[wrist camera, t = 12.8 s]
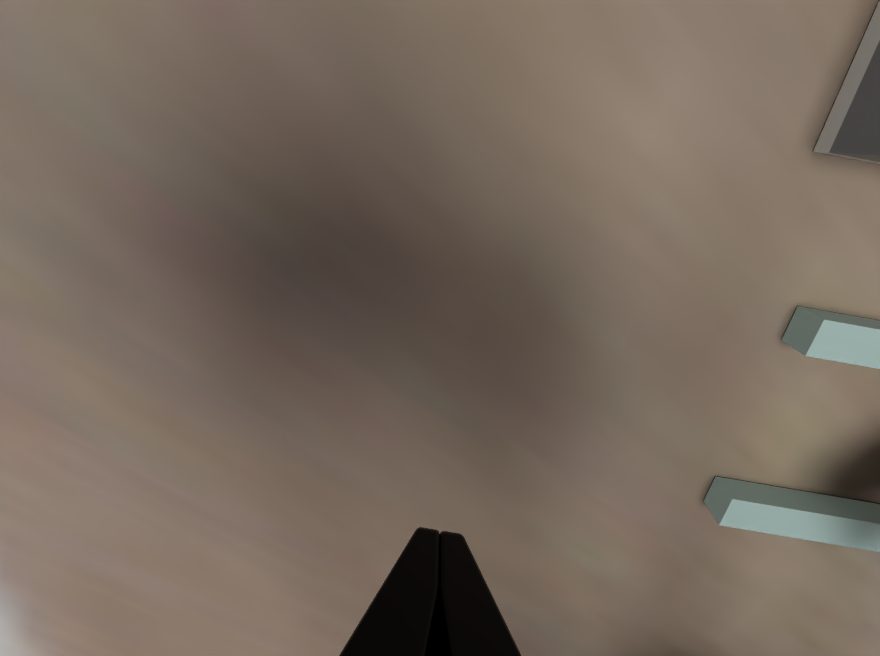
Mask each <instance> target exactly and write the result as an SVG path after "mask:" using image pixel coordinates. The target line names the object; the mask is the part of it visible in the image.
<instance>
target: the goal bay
mask: <svg viewBox="0 0 880 656" xmlns="http://www.w3.org/2000/svg"><path fill="white" fill-rule="evenodd" d="M782 341H784V342H785V343H787V344H788V345H790V346H791V347H793V348H794V349H796V350H797V351H799V352H800V353H802V354H804V355H805V356H809V357H815V358H821V359H826V360H832V361H838V362H843V363H849V364H855V365H860V366H866V367H871V368H877V369H880V321H878V320H873V319H867V318H862V317H856V316H850V315H845V314H839V313H834V312H828V311H823V310H817V309H812V308H806V307H800V306H798V307H797V309H796V311H795V313H794V315H793V317H792V319H791V321H790V323H789V325H788V327H787V330H786V332H785V334H784V336H783V338H782ZM703 502H704V503H705V505H706V506H707V508H708V509H709V511H710V512H711V514H712V515H713V517H714V518H715V520H716V521H717V523H718V524H719V525H721V526H726V527H732V528H738V529H744V530H750V531H756V532H762V533H768V534H774V535H780V536H786V537H792V538H798V539H804V540H810V541H816V542H822V543H828V544H834V545H840V546H846V547H852V548H858V549H864V550H870V551H876V552H880V504H876V503H870V502H864V501H858V500H852V499H846V498H840V497H834V496H829V495H823V494H817V493H811V492H805V491H799V490H793V489H787V488H781V487H775V486H770V485H764V484H758V483H752V482H746V481H740V480H734V479H728V478H722V477H717V476H716V477H715V479H714V481H713V483H712V485H711V487H710V489H709V491H708V493H707V495H706V497H705V499H704V501H703Z"/></svg>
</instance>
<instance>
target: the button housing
mask: <svg viewBox="0 0 880 656" xmlns="http://www.w3.org/2000/svg"><path fill="white" fill-rule="evenodd" d="M813 152H817V153H823V154H828V155H833V156H839V157H844V158H849V159H854V160H860V161H865V162H870V163H876V164H880V0H879V2H878V5H877V7H876V9H875V12H874V14H873V16H872V18H871V21H870V23H869V25H868V28H867V30H866V32H865V34H864V37H863V39H862V41H861V43H860V46H859V48H858V50H857V53H856V55H855V57H854V59H853V62H852V64H851V66H850V69H849V71H848V73H847V75H846V78H845V80H844V82H843V84H842V87H841V89H840V91H839V94H838V96H837V98H836V100H835V103H834V105H833V107H832V110H831V112H830V114H829V116H828V119H827V121H826V123H825V126H824V128H823V130H822V132H821V135H820V137H819V139H818V141H817V144H816V146H815V148H814V151H813Z"/></svg>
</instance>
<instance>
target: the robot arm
mask: <svg viewBox="0 0 880 656" xmlns="http://www.w3.org/2000/svg"><path fill="white" fill-rule="evenodd" d="M339 656H521V654H520V652H519V650H518V648H517V646H516V644H515V642H514V640H513V637H512V635H511V633H510V631H509V629H508V627H507V625H506V623H505V621H504V619H503V617H502V615H501V613H500V611H499V609H498V607H497V604H496V602H495V600H494V598H493V596H492V594H491V592H490V590H489V588H488V586H487V584H486V582H485V580H484V578H483V576H482V574H481V571H480V569H479V567H478V565H477V563H476V561H475V559H474V557H473V555H472V553H471V551H470V549H469V547H468V545H467V543H466V540H465V539H464V537H463V535H461V534H459V533H453V532H447V531H442V532H441V533H440V534H439V531H437V530H434V529H428V528H422V527H419V528H417V529H416V531H415V532H414V534H413V535H412V537H411V539H410V540H409V542H408V544H407V545H406V547H405V549H404V550H403V552H402V554H401V555H400V557H399V558H398V560H397V562H396V563H395V565H394V567H393V568H392V570H391V572H390V573H389V575H388V577H387V578H386V580H385V581H384V583H383V585H382V586H381V588H380V590H379V591H378V593H377V595H376V596H375V598H374V599H373V601H372V603H371V604H370V606H369V608H368V609H367V611H366V613H365V614H364V616H363V618H362V619H361V621H360V622H359V624H358V626H357V627H356V629H355V631H354V632H353V634H352V636H351V637H350V639H349V641H348V642H347V644H346V645H345V647H344V649H343V650H342V652H341V654H340V655H339Z"/></svg>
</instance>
